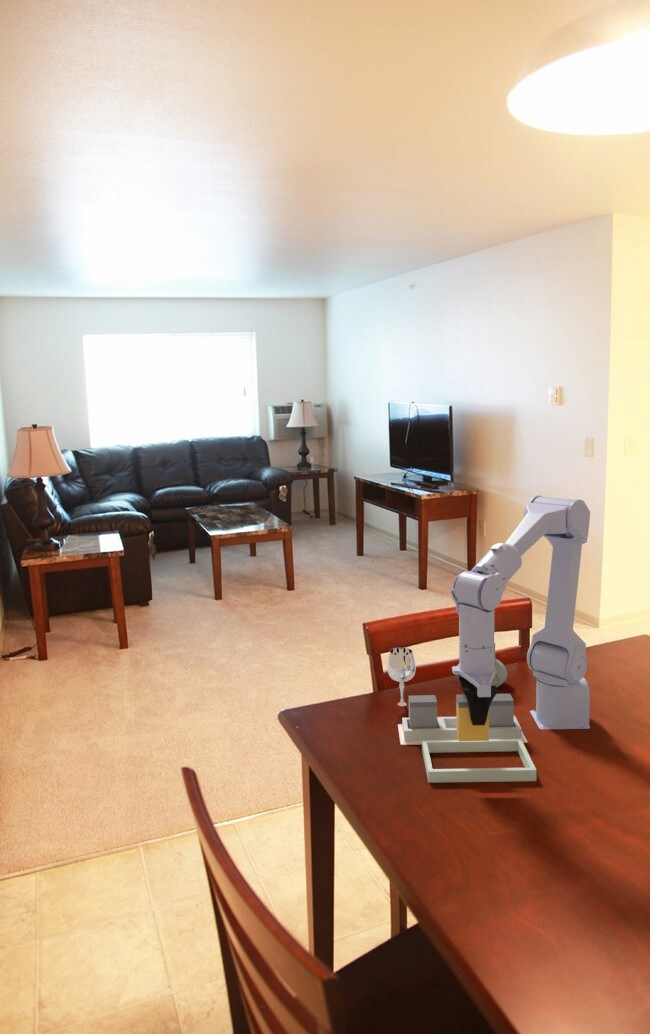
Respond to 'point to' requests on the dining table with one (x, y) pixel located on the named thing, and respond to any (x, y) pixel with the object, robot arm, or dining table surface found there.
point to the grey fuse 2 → (501, 711)
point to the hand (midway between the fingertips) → (476, 719)
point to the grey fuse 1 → (422, 712)
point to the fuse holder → (452, 732)
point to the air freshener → (498, 672)
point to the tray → (478, 773)
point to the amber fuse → (469, 723)
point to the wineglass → (401, 667)
